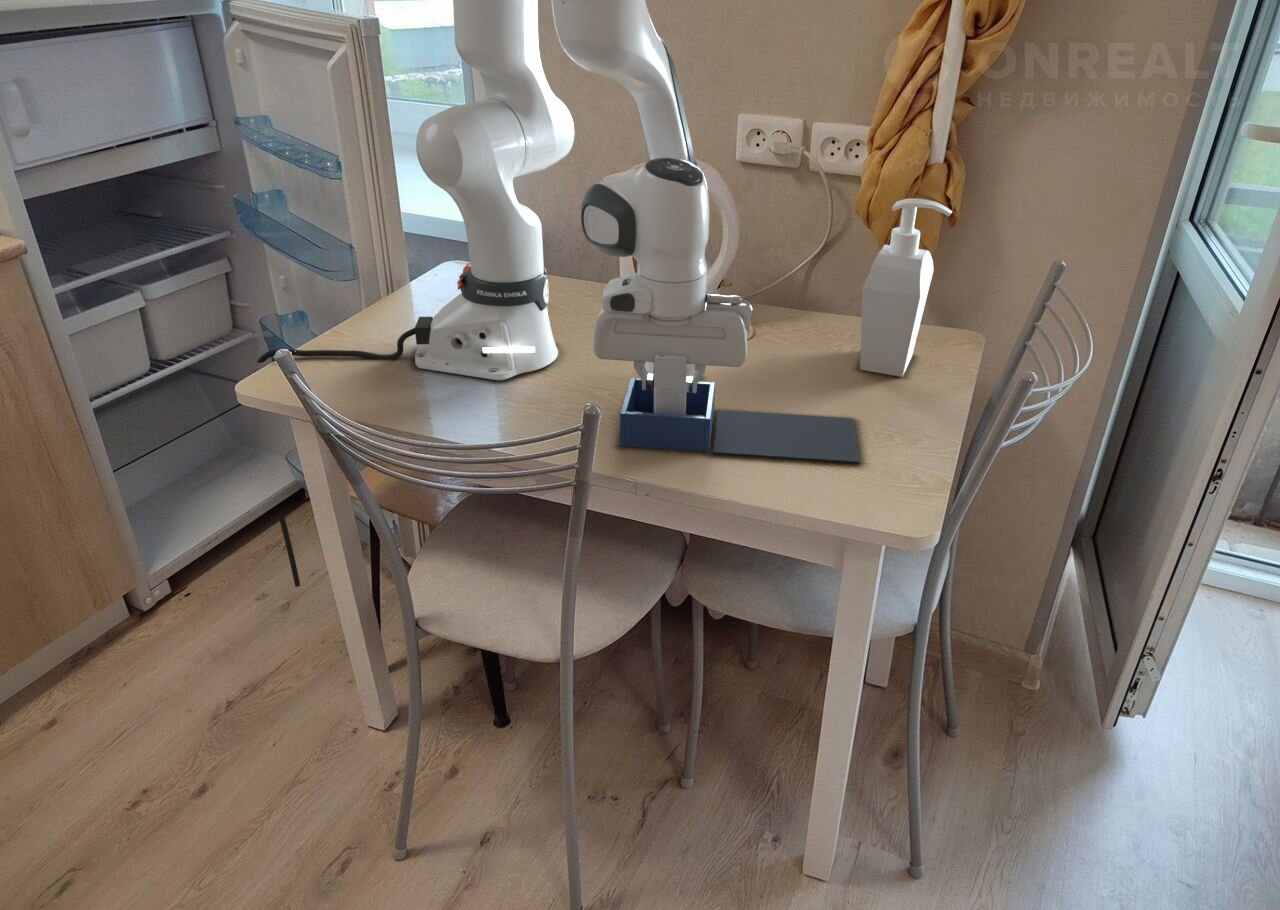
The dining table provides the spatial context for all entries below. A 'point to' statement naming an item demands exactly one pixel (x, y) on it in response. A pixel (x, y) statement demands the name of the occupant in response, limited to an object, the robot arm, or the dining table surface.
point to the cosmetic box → (669, 384)
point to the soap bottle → (896, 295)
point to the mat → (785, 437)
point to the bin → (667, 420)
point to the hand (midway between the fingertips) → (669, 389)
